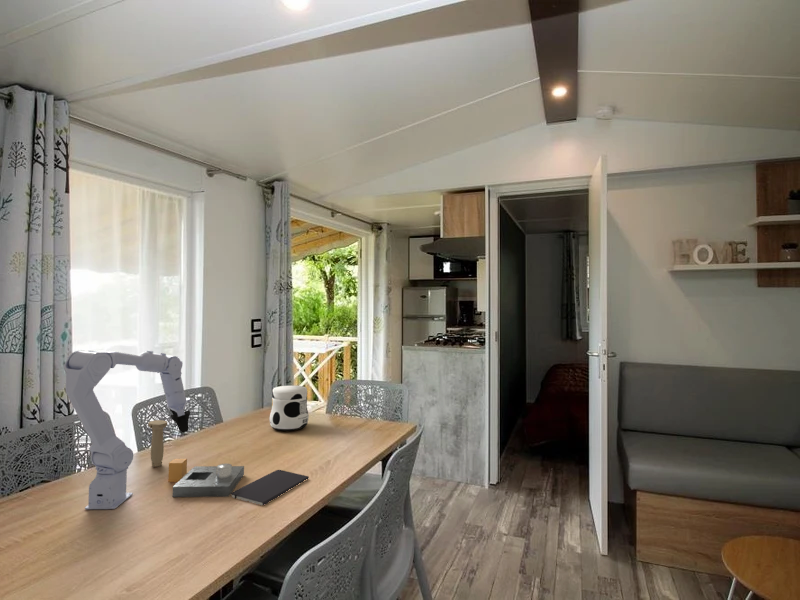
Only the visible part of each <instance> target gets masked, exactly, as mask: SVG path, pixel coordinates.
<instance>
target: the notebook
mask: <svg viewBox="0 0 800 600" xmlns="http://www.w3.org/2000/svg"><path fill="white" fill-rule="evenodd" d="M308 478H309V476H308V475H304V474H301V473H295V472H292V471H286V470H282V469H276V470H274V471H271V472H270V473H268V474H266V475H264V476H262V477H260V478H258V479H255V480H253V481H252V482H250V483H248V484H246V485H244V486H242V487H239V488H238V489H236V490H233V491H232V493H231V494H230V495H231V498H234V499H235V500H240V499H241V500H240V501H244V502H247V501H249V502H248V503H251V502H252V504H255V503H256V504H255V505H258V504H260V505H259V506H262V505H264V504H266V505H268V504H269V503H270V502H269V501H271V500H273V499H274V500H276V499H278V498H279V497H281V496H282V495H281V494H283V493H285V492H286V491H288V490H289V489H291V488H293V487H294V486H296V485H298V484H299V483H301V482H303V481H304V480H306V479H308ZM303 483H304V482H303ZM298 486H299V485H298ZM293 489H294V488H293ZM291 490H292V489H291ZM288 492H289V491H288ZM286 493H287V492H286ZM286 493H285V494H286ZM280 495H281V496H280ZM283 495H284V494H283ZM278 496H279V497H278ZM277 497H278V498H277ZM236 498H237V499H236ZM275 498H276V499H275ZM274 500H273V501H274ZM268 502H269V503H268ZM271 502H272V501H271ZM264 506H265V505H264Z"/></svg>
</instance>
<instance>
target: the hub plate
mask: <svg viewBox="0 0 800 600" xmlns="http://www.w3.org/2000/svg"><path fill="white" fill-rule="evenodd" d="M243 475H244V476H245V466H244V465H232V464H231V463H220V464H218V465H217V466H215V465H211V466H210V465H208V466H206V465H205V466H204V465H203V466H202V465H201V466H193V467H192V468H191V469H190V470H189V471H187V474H186V475H185V476H184V477H183V478H182V479H180V480H179V481H178V482H175V484H174V485H173V486H172V495H171V496H172V498H203V497H204V498H206V497H207V498H213V497H215V498H216V497H217V498H218V497H219V498H220V497H230V495H232V494H231V493H232V492H234V491H235V488H236V487H237V486H238V484H239V483H240V482H241V480H242V479H243V477H244V476H243ZM241 478H242V479H241ZM236 485H237V486H236Z"/></svg>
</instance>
